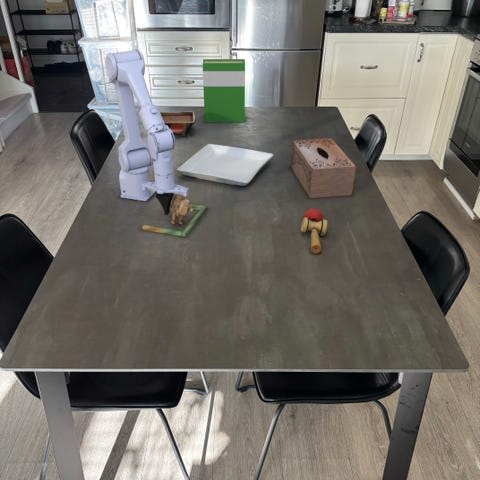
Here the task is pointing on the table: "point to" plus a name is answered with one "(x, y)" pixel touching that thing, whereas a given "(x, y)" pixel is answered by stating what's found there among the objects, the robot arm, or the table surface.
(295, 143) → the tissue box cover
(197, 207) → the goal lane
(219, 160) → the square plate
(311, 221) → the kendama
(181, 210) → the lion figurine
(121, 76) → the robot arm
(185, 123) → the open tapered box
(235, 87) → the hardback book
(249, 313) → the table surface
